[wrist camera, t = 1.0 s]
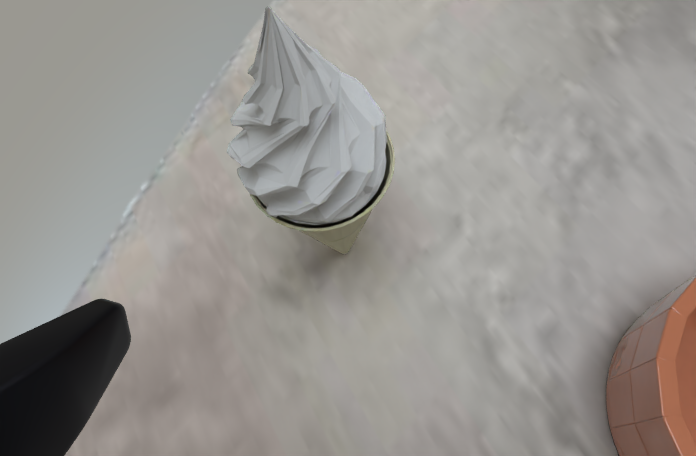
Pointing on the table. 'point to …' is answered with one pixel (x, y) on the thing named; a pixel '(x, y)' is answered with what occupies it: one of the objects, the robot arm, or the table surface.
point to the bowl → (656, 380)
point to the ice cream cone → (310, 140)
